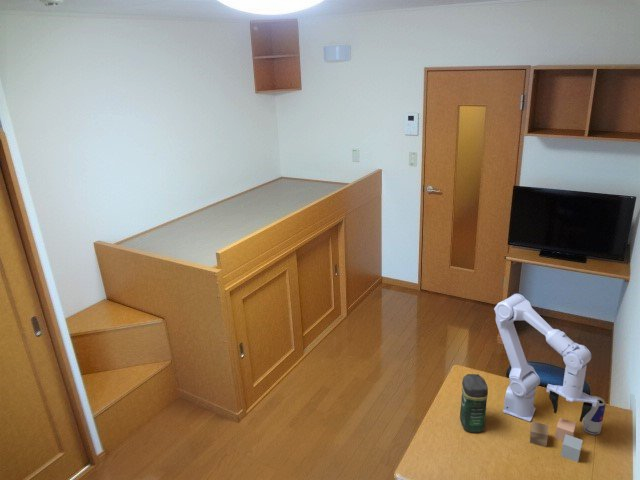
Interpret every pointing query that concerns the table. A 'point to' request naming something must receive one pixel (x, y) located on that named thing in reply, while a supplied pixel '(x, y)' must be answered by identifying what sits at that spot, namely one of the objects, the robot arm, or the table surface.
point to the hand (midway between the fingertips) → (568, 415)
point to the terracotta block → (564, 429)
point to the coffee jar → (473, 403)
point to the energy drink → (594, 417)
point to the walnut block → (539, 434)
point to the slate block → (571, 448)
